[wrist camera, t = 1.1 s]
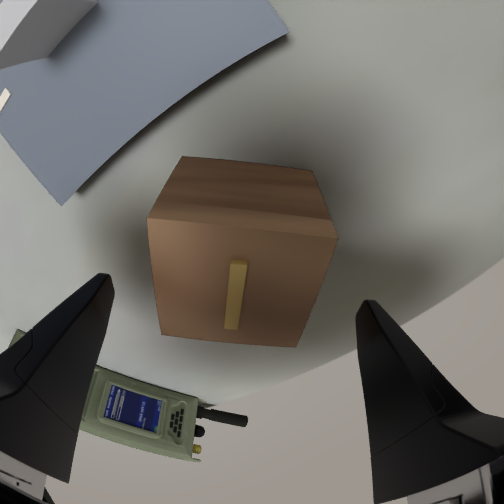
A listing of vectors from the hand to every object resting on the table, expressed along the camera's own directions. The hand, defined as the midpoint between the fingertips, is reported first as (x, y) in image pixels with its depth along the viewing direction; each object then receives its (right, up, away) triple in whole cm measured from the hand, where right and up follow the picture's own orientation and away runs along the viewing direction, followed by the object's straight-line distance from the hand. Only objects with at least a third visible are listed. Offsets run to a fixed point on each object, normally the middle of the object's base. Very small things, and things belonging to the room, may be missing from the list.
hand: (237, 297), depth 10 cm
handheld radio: (-11, -11, +16) cm, 22 cm away
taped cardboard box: (0, +3, +4) cm, 5 cm away
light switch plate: (-7, +11, -2) cm, 13 cm away
